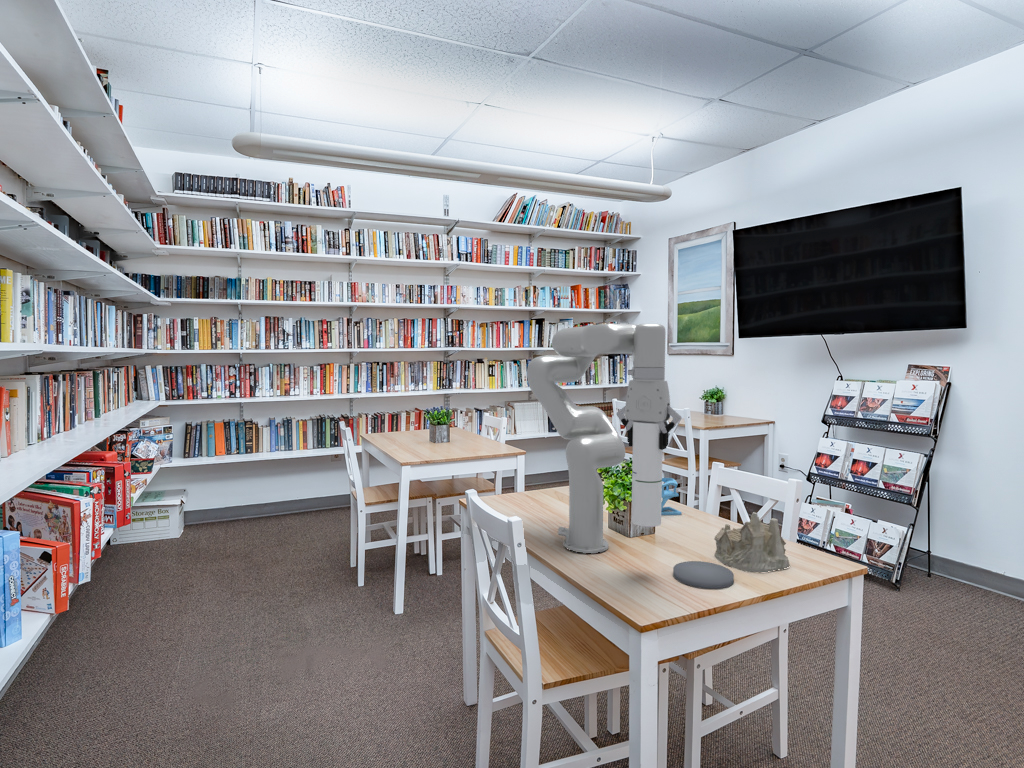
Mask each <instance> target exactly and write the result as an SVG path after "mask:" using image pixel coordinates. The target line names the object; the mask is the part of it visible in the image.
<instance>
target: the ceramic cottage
mask: <svg viewBox="0 0 1024 768" xmlns="http://www.w3.org/2000/svg"><path fill="white" fill-rule="evenodd" d="M780 533H781V532H780V527H779V521H778V518H774V517H773V518H770V519H769V524H766V523H763V522H762V519H761V518H760V517H759V516H758V513H757V512H755V511H753V512H752V513H751V516H750V520H749V521H745V522H744V524H743V525H742V526H741V527H739V528H736V527H735V528H734V527H733V528H732V529H731V525H730V524H728V523H726V524H725V525H724V527H721V528H720V530H719V531H718V532H717V533H716V535H715V536H714V538H713V539H714V541H715V544H716V545H715V546H716V547H715V548H716V550H715V552H714V557H715V558H716V559H717V561H720V563H722V564H723V565H725V566H727V567H731V568H733V569H735V570H736V569H737V570H738V571H739V570H740V571H742V572H746V571H747V573H754V572H768V571H772V572H774V571H773V570H778V569H784V568H787V567H789V566H790V567H791V564H790V560H789V557H788V556H787V555H786V548H785V545H786V544H787V542H786V541H785V540H784V539H783V536H782V535H781V534H780ZM768 573H769V572H768Z"/></svg>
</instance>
